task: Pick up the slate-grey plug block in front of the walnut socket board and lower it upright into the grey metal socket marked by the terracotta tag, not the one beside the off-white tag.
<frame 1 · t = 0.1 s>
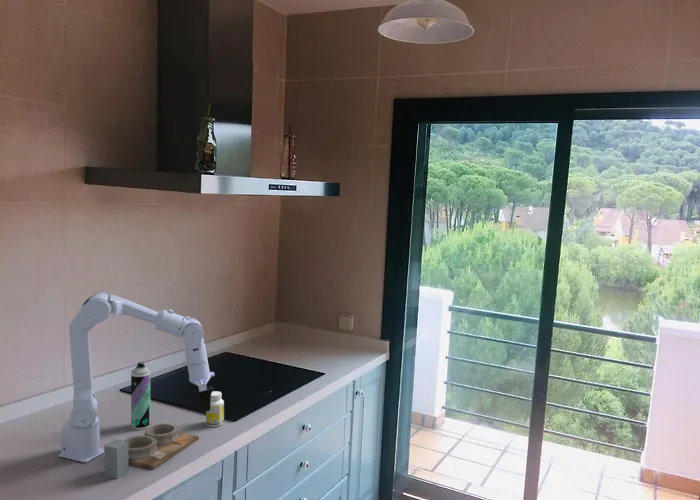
hand: (205, 406, 168), 11 cm above the worktop, tool pointing down, fingers open, 7 cm apart
spray can: (141, 427, 178), on the worktop
socket board: (156, 448, 163), on the worktop
plug: (116, 473, 148), on the worktop
supplement bottle: (214, 424, 181), on the worktop
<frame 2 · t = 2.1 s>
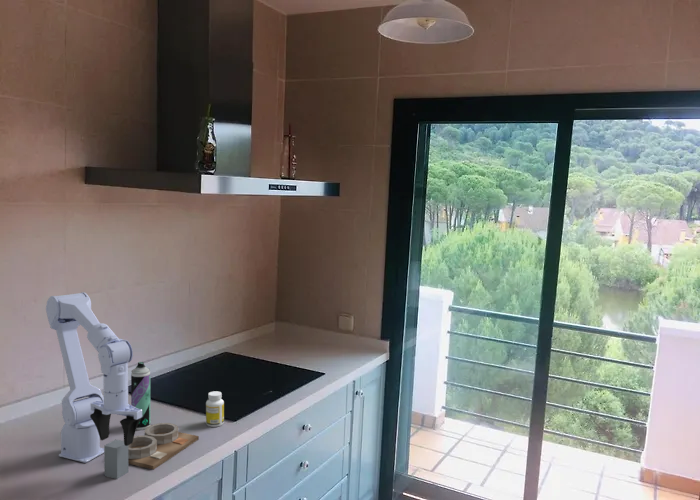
hand: (116, 441, 148), 9 cm above the worktop, tool pointing down, fingers open, 7 cm apart
nothing on the worktop moved.
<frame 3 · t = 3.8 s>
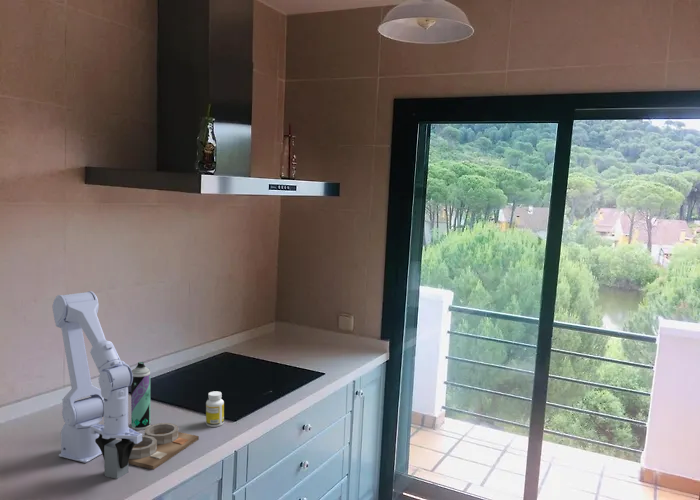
hand: (116, 464, 148), 2 cm above the worktop, tool pointing down, fingers closed on plug, 4 cm apart
plug: (116, 473, 148), on the worktop, touching gripper
everything else where it was.
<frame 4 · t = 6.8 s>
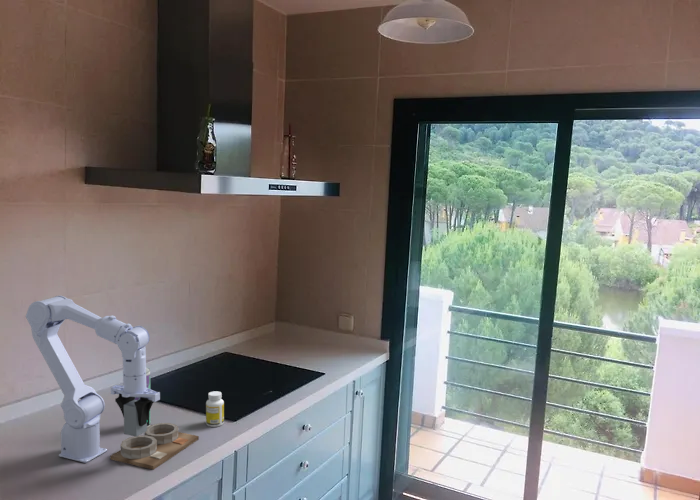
hand: (135, 423, 155), 10 cm above the worktop, tool pointing down, fingers closed on plug, 4 cm apart
plug: (135, 432, 155), point 8 cm above the worktop, touching gripper
everything else where it was.
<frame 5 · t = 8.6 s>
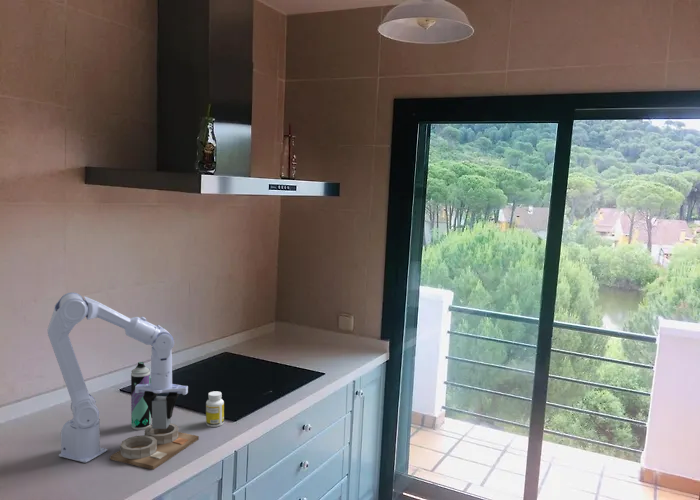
hand: (161, 417, 167), 7 cm above the worktop, tool pointing down, fingers closed on plug, 4 cm apart
plug: (161, 425, 167), point 5 cm above the worktop, touching gripper
everything else where it was.
when the fingers open (4 cm above the worktop, at t = 10.0 s): plug stays where it is, resting on socket board.
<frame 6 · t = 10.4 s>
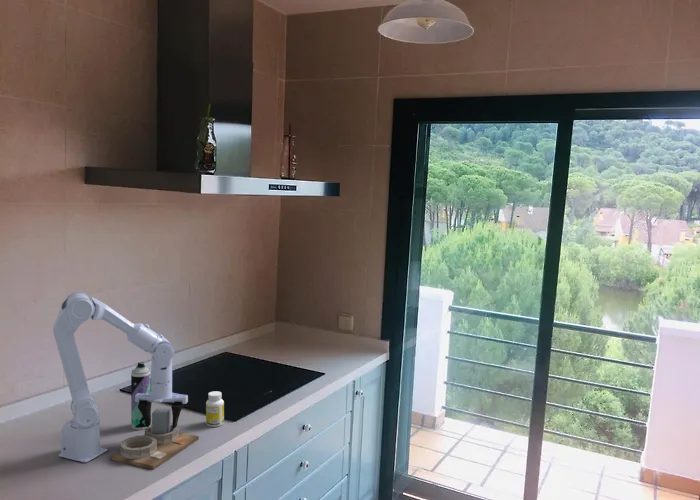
hand: (161, 426, 168), 4 cm above the worktop, tool pointing down, fingers open, 7 cm apart
plug: (161, 437, 168), point 1 cm above the worktop, touching socket board
everything else where it was.
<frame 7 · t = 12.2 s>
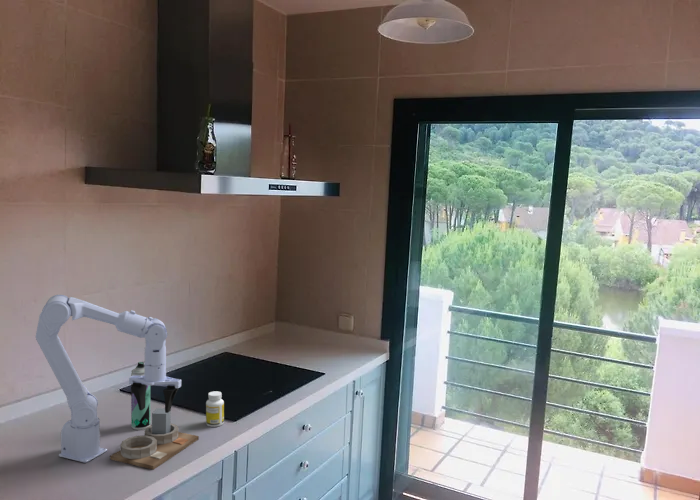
hand: (155, 410, 164), 10 cm above the worktop, tool pointing down, fingers open, 7 cm apart
nothing on the worktop moved.
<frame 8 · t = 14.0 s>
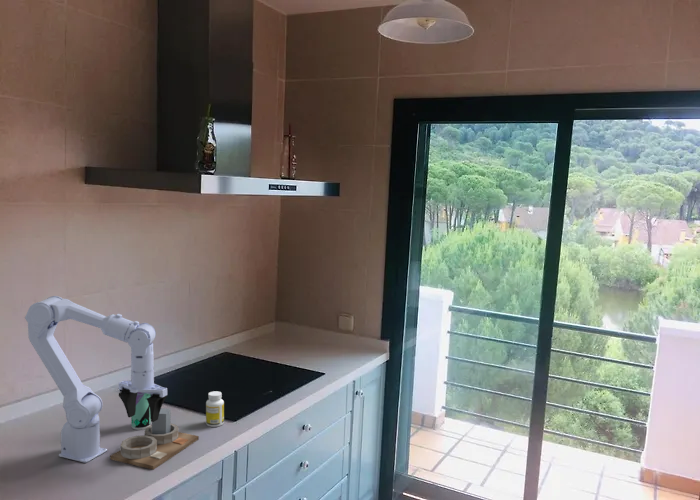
hand: (142, 418, 158), 10 cm above the worktop, tool pointing down, fingers open, 7 cm apart
nothing on the worktop moved.
at the end: plug 0.2 cm from the target spot on the socket board, point 1.0 cm above the socket board's base; plug tilted 0°; the gripper is holding nothing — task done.
